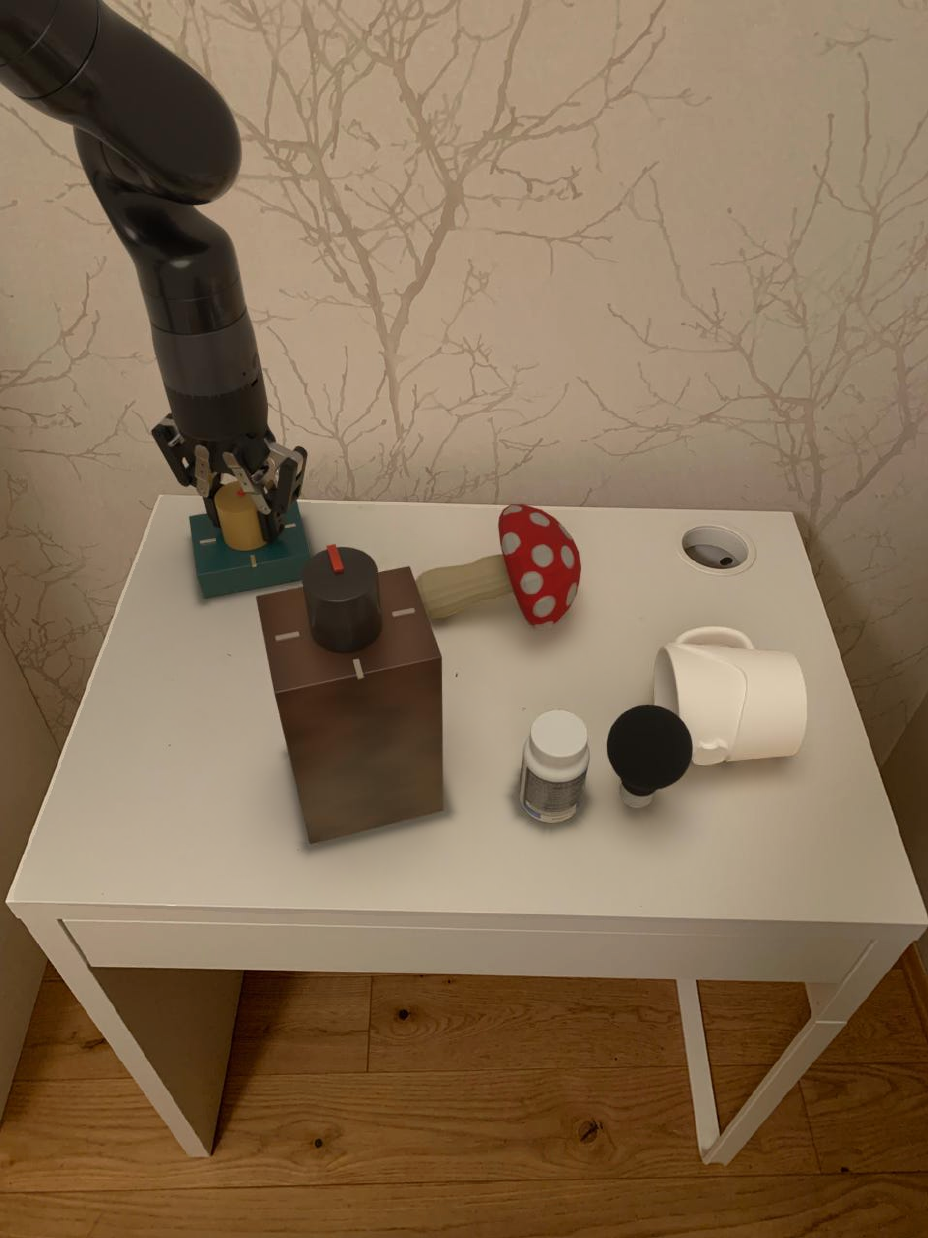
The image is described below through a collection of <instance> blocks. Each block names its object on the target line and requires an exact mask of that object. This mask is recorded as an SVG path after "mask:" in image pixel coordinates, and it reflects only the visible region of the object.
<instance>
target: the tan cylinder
mask: <svg viewBox="0 0 928 1238" xmlns="http://www.w3.org/2000/svg"><path fill="white" fill-rule="evenodd" d="M264 492H265V493H266V490H265V489H264ZM214 501H215V505H216V509H217V513H218V517H219V521H220V525H221V529H222V533H223V537H224V541H225V543H226V544H227V545H228V546H229V547H231V548H233V549H236V550H240V551H249V550H254V549H258V548H260V547H262V546H264V545H265V544H266V543H267V542H265V541H263V538H262V533H261V529H260V524H259V520H258V515H257V511H258V508H257V506H256V504H255V502H254V501H253V499H252V497H251V495H250V494H246V493H244V491H243V489H242V487H241V486H240V484H239V482H238V480H234V481H231V482H228V483H226V484H225V485H224V486H222V487H221V488H220V489H219V490H218V491H217V492H216V494H215V498H214Z"/></svg>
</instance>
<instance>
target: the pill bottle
mask: <svg viewBox="0 0 928 1238" xmlns="http://www.w3.org/2000/svg"><path fill="white" fill-rule="evenodd" d="M588 741H589V732H588V727H587V725H586V723H585V722H584V721H583V720H582V719H581V718H580V716H578V715H577V714H575V713H573V712H571V711H569V710H564V709H551V710H547V711H545V712H542V713H541V714H540V715H538V716H536V718H535V719H534V720H533V721H532V723H531V726H530V731H529V734H528V736H527V737H526V739H525V741H524V743H523V747H522V757H521V768H520V775H519V776H520V777H519V785H518V786H519V788H518V797H519V801H520V804H521V806H522V808H523V809H524V812H526V813H527V814H528V815H529V816H530V817H531V818H533V819H535V820H537V821H540V822H542V823H547V824H555V823H562V822H565V821H566V820H568V819H571V817H573V816H574V814H576V813H577V812H578V810H579V808H580V806H581V803H582V799H583V795H584V789H585V785H586V784H585V783H586V779H587V773H588V769H589V764H590V759H591V758H590V757H591V756H590V747H589V744H588V743H589V742H588Z"/></svg>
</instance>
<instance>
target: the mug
mask: <svg viewBox="0 0 928 1238" xmlns="http://www.w3.org/2000/svg"><path fill="white" fill-rule="evenodd" d="M719 645H721V646H719ZM653 670H654V671H653V703H654V704H653V705H657V706H661V707H664V708H666V709H668V710H671V711H672V712H673V713H675V714H676V715H678V716H679V717H680V718H681V720H682V721H683V722H684V723H685V725H686V726H687V728H688V730H689V732H690V734H691V738H692V744H693V754H692V759H691V762H692V763H693V764H695V765H699V766H711V765H716V764H719V763H722V762H724V761H725V762H737V761H738V762H739V761H747V760H758V759H759V760H760V759H769V758H781V757H791V756H793V755H795V754H796V753H797V752H798V751H799V750H800V748H801V747H802V744H803V741H804V738H805V734H806V729H807V723H808V696H807V687H806V681H805V677H804V674H803V669H802V668H801V665H800V663H799V661H798V660H797V658H796V657H795V655H793V654H792V653H791V652H789V651H779V650H768V649H756V647H755V645H754V644H753V642H752V640H751V639H750V638H749V636H747V635H746V634H745V633H743V632H741V631H740V630H738V629H735V628H732V627H728V626H727V627H726V626H721V625H720V626H719V625H718V626H717V625H711V626H709V625H708V626H701V627H700V626H699V627H696V628H692V629H689V630H687V631H684V632H683V633H681V634H680V635H678V636H677V637H676V638H675V640H674V642H666V643H665V644H663V645H662V646H660V648H658V651H657V654H656V657H655V662H654V669H653Z"/></svg>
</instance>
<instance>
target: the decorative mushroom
mask: <svg viewBox="0 0 928 1238" xmlns="http://www.w3.org/2000/svg"><path fill="white" fill-rule="evenodd" d="M497 529H498V530H497V531H498V537H499V545H500V550H501V553H499V554H494V555H489V556H485V557H482V558H480V559H477V560H474V561H472V562H468V563H462V564H457V565H448V566H439V567H434V568H432V569H428V570H425V571H422V572H421V574H419V576H418V577H417V578H416V579H415V582H416V585H417V588H418V591H419V593H420V596H421V599H422V602H423V605H424V608H425V610H426V613H427V616H428V618H431V619H435V620H438V619H443V618H446V617H450V616H452V615H455V614H456V613H459V612H461V611H462V610H464V609H467V608H469V607H471V606H473V605H476V604H479V603H481V602H485V601H490V600H496V599H499V598H501V597H504V596H507V595H509V594H512V593H513V594H514V595H513V596H514V598H515V600H516V603H517V605H518V607H519V609H520V611H521V614H522V616H523V618H524V619H525V621H526V622H527V623H528V624H529V625H530V626H532V627H533V628H535V629H537V630H548V629H550V628H551V627H552V626H554V625H555V624H557V623H558V622H559V621H560V620H561V619H562V618H563V617H564V615H565V614H566V613H567V612H568V611H569V610H570V609H571V607H572V604H573V603H574V601H575V599H576V596H577V593H578V590H579V585H580V581H581V572H582V563H581V555H580V551H579V549H578V546H577V544H576V541H575V540H574V537H573V536H572V535H571V534H570V533H569V532H568V530H567V529H566V527H565V526H563V525H562V524H561V522H559V520H558V519H556V517H554V516H553V515H551V514H549V513H548V512H546V511H544V510H543V509H541V508H537V507H533V506H530V505H528V504H524V503H523V504H521V503H511V504H509V505H507V506H506V507H504V508H503V509H502V510H501V513H500V514H499V516H498V521H497Z"/></svg>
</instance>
